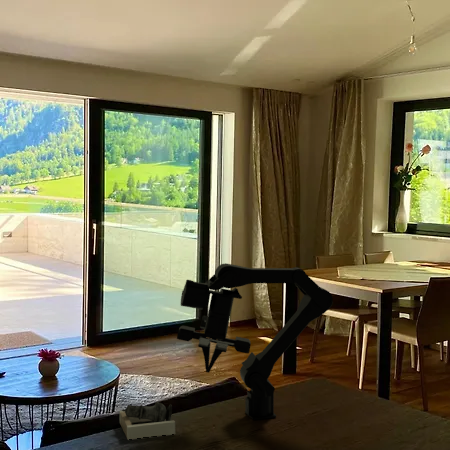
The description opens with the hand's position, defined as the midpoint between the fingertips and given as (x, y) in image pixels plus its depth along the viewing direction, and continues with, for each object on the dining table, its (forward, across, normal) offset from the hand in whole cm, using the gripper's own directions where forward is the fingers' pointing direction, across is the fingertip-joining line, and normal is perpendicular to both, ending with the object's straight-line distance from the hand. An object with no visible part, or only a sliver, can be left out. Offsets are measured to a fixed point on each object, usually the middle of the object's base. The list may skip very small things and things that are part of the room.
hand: (207, 372), depth 169 cm
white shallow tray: (+15, +12, +7) cm, 20 cm away
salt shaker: (+11, +7, +5) cm, 14 cm away
